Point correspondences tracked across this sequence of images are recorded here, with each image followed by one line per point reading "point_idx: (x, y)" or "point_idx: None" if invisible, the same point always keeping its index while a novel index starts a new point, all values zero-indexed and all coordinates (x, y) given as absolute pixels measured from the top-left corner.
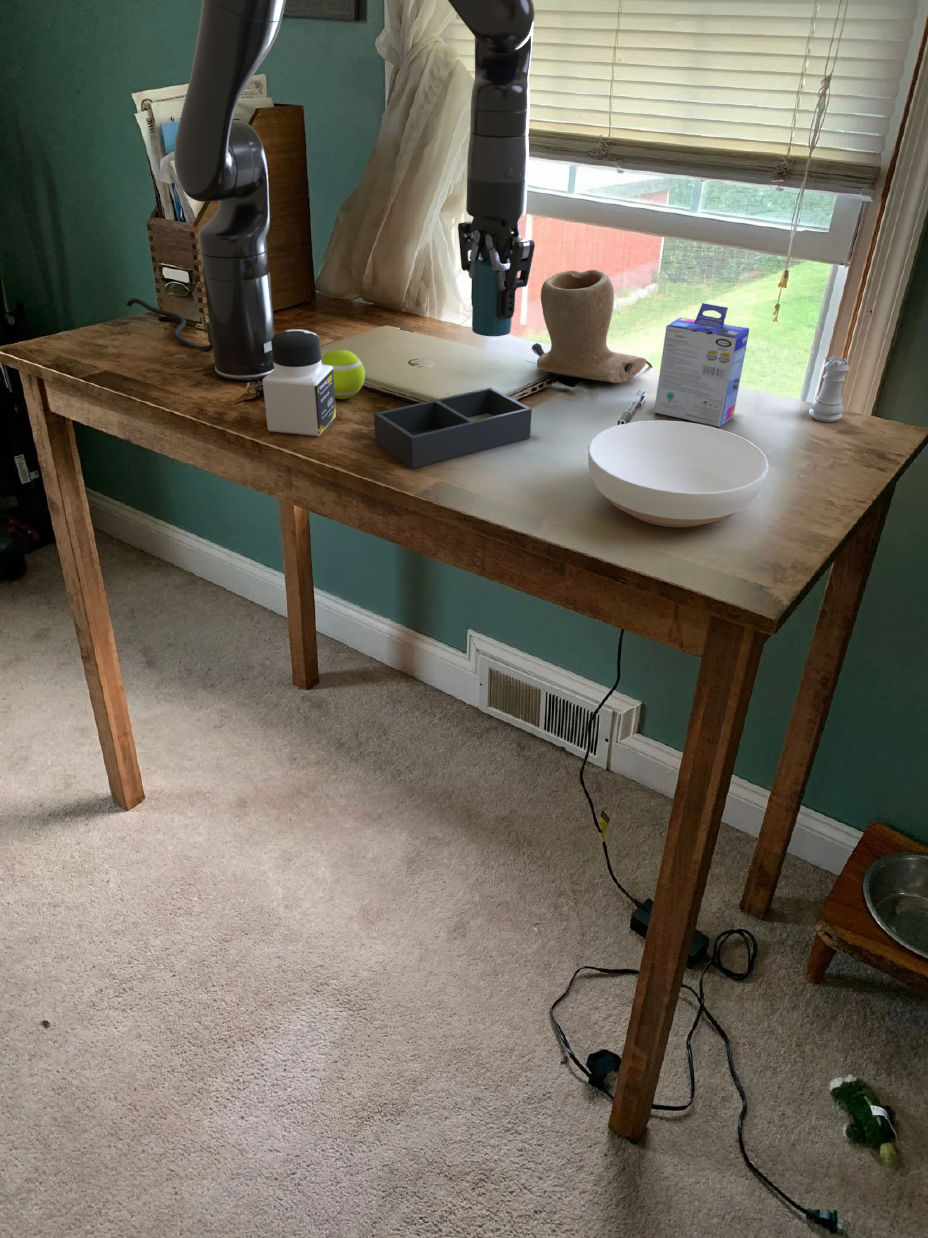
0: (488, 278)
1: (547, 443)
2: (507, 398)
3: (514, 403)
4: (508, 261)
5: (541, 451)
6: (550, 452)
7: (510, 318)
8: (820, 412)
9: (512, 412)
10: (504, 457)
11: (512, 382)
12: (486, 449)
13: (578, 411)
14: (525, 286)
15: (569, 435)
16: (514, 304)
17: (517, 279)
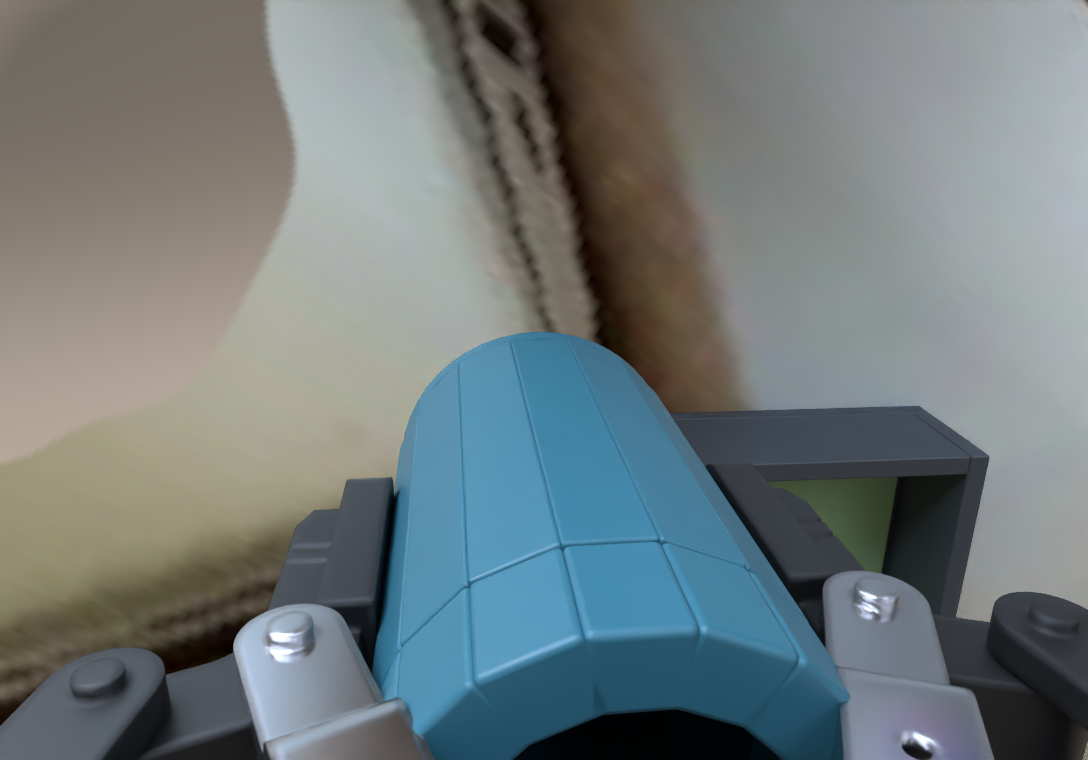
0: None
1: (991, 376)
2: (836, 476)
3: (888, 475)
4: (748, 719)
5: (1022, 434)
6: (1049, 413)
7: (675, 423)
8: None
9: (964, 542)
10: (968, 562)
11: (350, 69)
12: None
13: (849, 37)
14: (1040, 594)
15: (999, 256)
16: (828, 529)
17: (1081, 751)
